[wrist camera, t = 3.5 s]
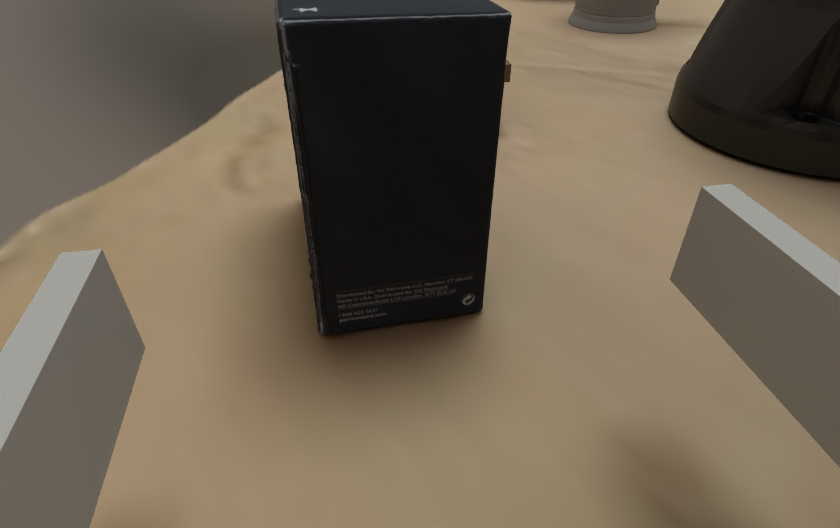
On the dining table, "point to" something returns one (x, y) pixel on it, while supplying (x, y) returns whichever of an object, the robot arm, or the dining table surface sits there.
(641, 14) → the glass holder
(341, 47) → the small box
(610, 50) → the dining table surface
